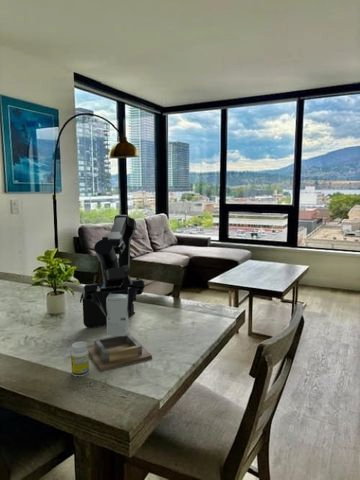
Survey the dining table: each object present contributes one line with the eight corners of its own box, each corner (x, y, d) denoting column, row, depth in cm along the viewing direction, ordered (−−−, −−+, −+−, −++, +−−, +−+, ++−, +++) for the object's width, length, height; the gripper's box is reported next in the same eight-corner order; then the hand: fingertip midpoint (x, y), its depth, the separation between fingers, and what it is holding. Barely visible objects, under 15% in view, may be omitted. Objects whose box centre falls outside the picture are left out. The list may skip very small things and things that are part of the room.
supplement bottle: (73, 368, 102) (72, 340, 101) (90, 368, 102) (89, 340, 101) (70, 377, 97) (68, 348, 96) (87, 376, 98) (86, 347, 96)
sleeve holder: (85, 349, 114) (85, 338, 114) (132, 339, 122) (132, 329, 121) (100, 371, 100) (99, 359, 100) (152, 358, 108) (151, 347, 107)
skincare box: (106, 336, 108) (104, 297, 106) (110, 330, 113) (108, 293, 111) (126, 336, 108) (125, 298, 106) (129, 330, 112) (128, 293, 110)
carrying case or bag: (81, 330, 129) (80, 291, 127) (80, 327, 132) (78, 288, 130) (110, 325, 134) (109, 287, 131) (108, 322, 136) (107, 285, 134)
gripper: (82, 258, 107) (88, 305, 99) (142, 254, 114) (153, 298, 105) (81, 277, 116) (86, 322, 107) (137, 273, 122) (146, 314, 114)
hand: (118, 314), depth 108 cm, fingers closed on skincare box, 7 cm apart
